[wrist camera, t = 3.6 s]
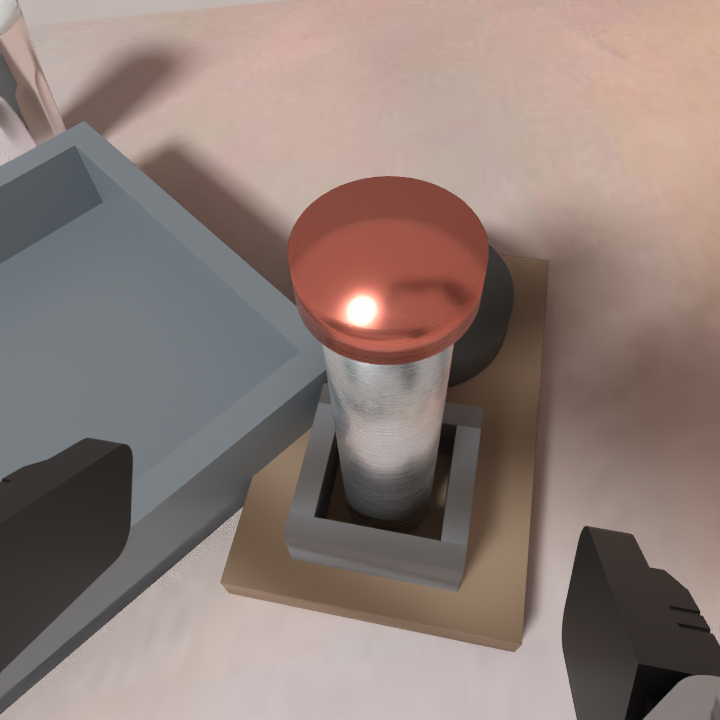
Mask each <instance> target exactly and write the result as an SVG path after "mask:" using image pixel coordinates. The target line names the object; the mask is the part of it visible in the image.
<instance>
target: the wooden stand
mask: <svg viewBox="0 0 720 720" xmlns="http://www.w3.org/2000/svg"><path fill="white" fill-rule="evenodd" d="M548 263H549V261H546V260H538V259H530V258H522V257H514V256H507V255H499V254H498V253H497V252H496V251H495V250H494V249H493V248H492V247H491V246H490V245H489V258H488V264H487V269H486V275H485V280H484V285H483V290H482V296H481V301H480V306H479V309H478V312H477V315H476V317H475V319H474V320H473V322H472V324H471V326H470V327H469V328H468V330H467V331H466V332H465V333H464V334H463V335H462V336H461V337H460V338H459V339H458V340H457V341H456V342H455V343H454V346H453V353H452V359H451V366H450V373H449V379H448V386H447V393H446V400H445V406H444V413H443V420H442V426H441V433H440V440H439V447H438V453H437V460H436V467H435V474H434V480H433V487H432V494H431V500H430V506H429V510H428V513H427V515H426V517H425V519H424V521H423V522H422V523H421V524H420V526H419V527H418V528H416V529H415V530H414V531H412V532H411V533H409V534H402V533H397V532H391V531H386V530H381V529H375V528H370V527H365V526H359V525H356V523H355V522H354V521H353V519H352V518H351V516H350V514H349V511H348V508H347V503H346V497H345V490H344V484H343V477H342V470H341V464H340V457H339V451H338V444H337V438H336V431H335V425H334V418H333V412H332V405H331V398H330V392H329V385H328V383H324V384H323V388H322V392H321V395H320V399H319V403H318V407H317V410H316V414H315V418H314V422H313V425H312V428H310V429H309V430H308V431H307V432H306V433H304V434H303V435H302V436H301V437H300V438H298V439H297V440H296V441H295V442H294V443H293V444H291V445H290V446H289V447H288V448H287V449H285V450H284V451H283V452H282V453H281V454H279V455H278V456H277V457H276V458H275V459H274V460H272V461H271V462H270V463H269V464H268V465H266V466H265V467H264V468H263V469H262V470H260V471H259V472H258V473H257V474H256V475H255V476H253V477H252V481H251V484H250V487H249V490H248V494H247V497H246V500H245V504H244V507H243V510H242V513H241V517H240V520H239V523H238V526H237V530H236V533H235V536H234V540H233V543H232V546H231V549H230V553H229V556H228V559H227V562H226V566H225V569H224V572H223V575H222V579H221V582H220V583H221V584H222V585H223V586H224V587H225V589H226V590H227V591H228V592H229V593H231V594H236V595H241V596H246V597H251V598H255V599H260V600H265V601H270V602H275V603H280V604H284V605H289V606H294V607H299V608H304V609H309V610H313V611H318V612H323V613H328V614H333V615H338V616H342V617H347V618H352V619H357V620H362V621H367V622H371V623H376V624H381V625H386V626H391V627H396V628H400V629H405V630H410V631H415V632H420V633H425V634H429V635H434V636H439V637H444V638H449V639H454V640H458V641H463V642H468V643H473V644H478V645H482V646H487V647H492V648H497V649H502V650H507V651H511V652H515V651H516V650H517V649H518V648H519V647H520V646H521V645H522V634H523V620H524V606H525V591H526V577H527V563H528V549H529V534H530V520H531V506H532V492H533V477H534V463H535V449H536V434H537V420H538V406H539V392H540V377H541V363H542V349H543V334H544V320H545V306H546V292H547V277H548Z"/></svg>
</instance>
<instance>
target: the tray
mask: <svg viewBox="0 0 720 720" xmlns="http://www.w3.org/2000/svg"><path fill="white" fill-rule="evenodd" d="M324 383H328V379H327V372H326V366H325V359H324V353H323V346H322V343H321V342H319V341H318V340H317V339H316V338H315V337H314V336H313V335H312V334H311V333H310V331H309V330H308V329H307V327H306V326H305V325H304V323H303V321H302V319H301V317H300V315H299V312H298V309H297V306H296V305H295V304H294V303H292V302H291V301H290V300H289V299H288V298H287V297H286V296H284V295H283V294H282V293H281V292H280V291H279V290H278V289H276V288H275V287H274V286H273V285H272V284H271V283H269V282H268V281H267V280H266V279H265V278H264V277H263V276H261V275H260V274H259V273H258V272H257V271H256V270H255V269H253V268H252V267H251V266H250V265H249V264H248V263H247V262H245V261H244V260H243V259H242V258H241V257H240V256H239V255H237V254H236V253H235V252H234V251H233V250H232V249H231V248H229V247H228V246H227V245H226V244H225V243H224V242H223V241H221V240H220V239H219V238H218V237H217V236H216V235H215V234H213V233H212V232H211V231H210V230H209V229H208V228H207V227H205V226H204V225H203V224H202V223H201V222H200V221H199V220H197V219H196V218H195V217H194V216H193V215H192V214H191V213H189V212H188V211H187V210H186V209H185V208H184V207H182V206H181V205H180V204H179V203H178V202H177V201H176V200H174V199H173V198H172V197H171V196H170V195H169V194H168V193H166V192H165V191H164V190H163V189H162V188H161V187H160V186H158V185H157V184H156V183H155V182H154V181H153V180H152V179H150V178H149V177H148V176H147V175H146V174H145V173H144V172H142V171H141V170H140V169H139V168H138V167H137V166H136V165H134V164H133V163H132V162H131V161H130V160H129V159H128V158H126V157H125V156H124V155H123V154H122V153H121V152H120V151H118V150H117V149H116V148H115V147H114V146H113V145H112V144H110V143H109V142H108V141H107V140H106V139H105V138H103V137H102V136H101V135H100V134H99V133H98V132H97V131H95V130H94V129H93V128H92V127H91V126H90V125H89V124H87V123H86V122H85V121H83V122H81V123H79V124H77V125H75V126H73V127H72V128H70V129H68V130H66V131H64V132H62V133H60V134H59V135H57V136H55V137H53V138H51V139H49V140H48V141H46V142H44V143H42V144H40V145H38V146H37V147H35V148H33V149H31V150H29V151H27V152H26V153H24V154H22V155H20V156H18V157H16V158H15V159H13V160H11V161H9V162H7V163H5V164H4V165H2V166H0V482H1V481H2V478H4V477H6V476H8V475H9V474H11V473H13V472H15V471H17V470H18V469H20V468H22V467H24V466H27V465H30V464H34V463H37V462H41V461H44V460H47V459H50V458H51V457H53V456H55V455H56V454H58V453H60V452H62V451H63V450H65V449H67V448H69V447H70V446H72V445H74V444H75V443H77V442H79V441H81V440H82V439H84V438H94V439H100V440H105V441H111V442H117V443H122V444H127V445H129V447H130V448H131V450H132V454H133V476H132V503H131V526H130V532H129V537H128V540H127V543H126V545H125V548H124V550H123V552H122V553H121V555H120V556H119V558H118V559H117V560H116V561H115V562H114V563H113V564H112V565H111V566H110V567H109V568H108V569H107V570H106V571H105V572H104V573H103V574H102V575H101V576H100V577H98V578H97V579H96V580H95V581H94V582H93V583H92V584H91V585H90V586H89V587H88V588H87V589H86V590H85V591H84V592H83V593H82V594H81V595H80V596H79V597H78V598H77V599H76V600H75V601H74V602H73V603H72V604H71V605H70V606H69V607H68V608H67V609H66V610H65V611H64V612H62V613H61V614H60V615H59V616H58V617H57V618H56V619H55V620H54V621H53V622H52V623H51V624H50V625H49V626H48V627H47V628H46V629H45V630H44V631H43V632H42V633H41V634H40V635H39V636H38V637H37V638H36V639H35V640H34V641H33V642H32V643H31V644H30V645H29V646H27V647H26V648H25V649H24V650H23V651H22V652H21V653H20V654H19V655H18V656H17V657H16V658H15V659H14V660H13V661H12V662H11V663H10V664H9V665H8V666H7V667H6V668H5V669H4V670H3V671H2V672H1V673H0V714H1V713H2V712H3V711H4V710H5V709H6V708H8V707H9V706H10V705H11V704H12V703H13V702H15V701H16V700H17V699H18V698H19V697H20V696H22V695H23V694H24V693H25V692H26V691H27V690H29V689H30V688H31V687H32V686H33V685H35V684H36V683H37V682H38V681H39V680H40V679H42V678H43V677H44V676H45V675H46V674H47V673H49V672H50V671H51V670H52V669H53V668H54V667H56V666H57V665H58V664H59V663H60V662H61V661H63V660H64V659H65V658H66V657H67V656H68V655H70V654H71V653H72V652H73V651H74V650H75V649H77V648H78V647H79V646H80V645H81V644H82V643H84V642H85V641H86V640H87V639H88V638H89V637H91V636H92V635H93V634H94V633H95V632H96V631H98V630H99V629H100V628H101V627H102V626H103V625H105V624H106V623H107V622H108V621H109V620H110V619H112V618H113V617H114V616H115V615H116V614H117V613H119V612H120V611H121V610H122V609H123V608H124V607H126V606H127V605H128V604H129V603H130V602H132V601H133V600H134V599H135V598H136V597H137V596H139V595H140V594H141V593H142V592H143V591H144V590H146V589H147V588H148V587H149V586H150V585H151V584H153V583H154V582H155V581H156V580H157V579H158V578H160V577H161V576H162V575H163V574H164V573H165V572H167V571H168V570H169V569H170V568H171V567H172V566H174V565H175V564H176V563H177V562H178V561H179V560H181V559H182V558H183V557H184V556H185V555H186V554H188V553H189V552H190V551H191V550H192V549H193V548H195V547H196V546H197V545H198V544H199V543H200V542H202V541H203V540H204V539H205V538H206V537H207V536H209V535H210V534H211V533H212V532H213V531H214V530H216V529H217V528H218V527H219V526H220V525H221V524H223V523H224V522H225V521H226V520H227V519H229V518H230V517H231V516H232V515H233V514H234V513H236V512H237V511H238V510H239V509H240V508H241V507H243V506H244V504H245V500H246V497H247V494H248V490H249V487H250V484H251V481H252V477H253V476H255V475H256V474H257V473H258V472H259V471H260V470H262V469H263V468H264V467H265V466H266V465H268V464H269V463H270V462H271V461H272V460H274V459H275V458H276V457H277V456H278V455H279V454H281V453H282V452H283V451H284V450H285V449H287V448H288V447H289V446H290V445H291V444H293V443H294V442H295V441H296V440H297V439H298V438H300V437H301V436H302V435H303V434H304V433H306V432H307V431H308V430H309V429H310V428H312V425H313V422H314V418H315V414H316V410H317V407H318V403H319V399H320V395H321V392H322V388H323V384H324Z"/></svg>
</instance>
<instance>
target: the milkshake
mask: <svg viewBox="0 0 720 720" xmlns="http://www.w3.org/2000/svg"><path fill="white" fill-rule="evenodd" d="M64 131H66V128H65V125H64V123H63V120H62V118H61V115H60V113H59V110H58V108H57V105H56V103H55V100H54V98H53V95H52V93H51V91H50V88H49V85H48V83H47V80H46V78H45V75H44V73H43V70H42V67H41V64H40V61H39V58H38V55H37V53H36V50H35V47H34V44H33V41H32V39H31V36H30V33H29V31H28V28H27V25H26V22H25V20H24V17H23V14H22V11H21V9H20V6H19V3H18V0H0V149H1V150H2V151H3V153H4V154H5V155H6V157H7V158H8V160H9V161H11V160H13V159H15V158H16V157H18V156H20V155H22V154H24V153H26V152H27V151H29V150H31V149H33V148H35V147H37V146H38V145H40V144H42V143H44V142H46V141H48V140H49V139H51V138H53V137H55V136H57V135H59V134H60V133H62V132H64Z"/></svg>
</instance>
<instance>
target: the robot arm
mask: <svg viewBox="0 0 720 720" xmlns="http://www.w3.org/2000/svg"><path fill="white" fill-rule="evenodd" d="M132 476H133V454H132V450H131V448H130V447H129V445H127V444H122V443H117V442H111V441H105V440H100V439H94V438H84V439H82V440H81V441H79V442H77V443H75V444H74V445H72V446H70V447H69V448H67V449H65V450H63V451H62V452H60V453H58V454H56V455H55V456H53V457H51V458H50V459H47V460H44V461H41V462H37V463H34V464H30V465H27V466H24V467H22V468H20V469H18V470H17V471H15V472H13V473H11V474H9V475H8V476H6V477H4V478H2V481H1V482H0V673H1V672H2V671H3V670H4V669H5V668H6V667H7V666H8V665H9V664H10V663H11V662H12V661H13V660H14V659H15V658H16V657H17V656H18V655H19V654H20V653H21V652H22V651H23V650H24V649H25V648H26V647H27V646H29V645H30V644H31V643H32V642H33V641H34V640H35V639H36V638H37V637H38V636H39V635H40V634H41V633H42V632H43V631H44V630H45V629H46V628H47V627H48V626H49V625H50V624H51V623H52V622H53V621H54V620H55V619H56V618H57V617H58V616H59V615H60V614H61V613H62V612H64V611H65V610H66V609H67V608H68V607H69V606H70V605H71V604H72V603H73V602H74V601H75V600H76V599H77V598H78V597H79V596H80V595H81V594H82V593H83V592H84V591H85V590H86V589H87V588H88V587H89V586H90V585H91V584H92V583H93V582H94V581H95V580H96V579H97V578H98V577H100V576H101V575H102V574H103V573H104V572H105V571H106V570H107V569H108V568H109V567H110V566H111V565H112V564H113V563H114V562H115V561H116V560H117V559H118V558H119V556H120V555H121V553H122V552H123V550H124V548H125V545H126V543H127V540H128V537H129V532H130V526H131V503H132ZM562 648H563V654H564V658H565V663H566V668H567V673H568V678H569V683H570V688H571V693H572V697H573V702H574V707H575V712H576V717H577V720H720V645H719V643H718V642H717V640H716V638H715V636H714V635H713V634H711V633H710V628H709V626H708V624H707V622H706V621H705V619H704V617H703V616H701V615H700V610H699V608H698V607H697V605H696V603H695V601H694V600H693V598H692V596H691V594H690V593H689V591H688V590H687V589H686V588H685V587H684V586H682V585H681V584H680V583H679V582H678V581H677V580H675V579H674V578H673V577H672V576H671V575H670V574H668V573H667V572H666V571H665V570H661V569H656V568H650V567H649V566H648V563H647V561H646V559H645V557H644V555H643V553H642V551H641V549H640V547H639V545H638V543H637V541H636V539H635V537H634V536H633V535H632V534H629V533H623V532H617V531H612V530H606V529H600V528H595V527H589V526H585V527H584V528H583V530H582V532H581V534H580V538H579V542H578V546H577V551H576V556H575V561H574V566H573V570H572V575H571V580H570V585H569V589H568V594H567V599H566V604H565V609H564V614H563V623H562Z"/></svg>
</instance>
